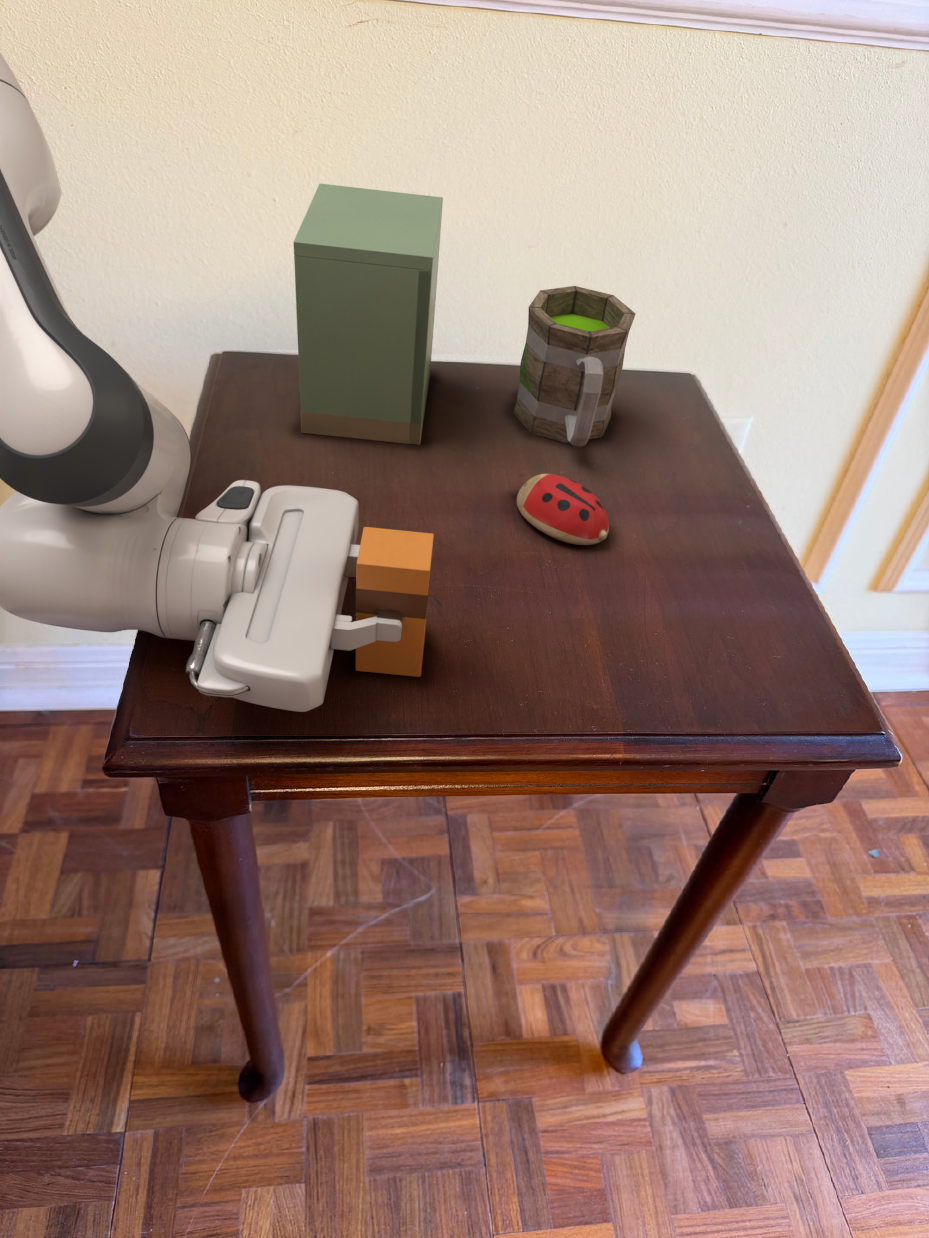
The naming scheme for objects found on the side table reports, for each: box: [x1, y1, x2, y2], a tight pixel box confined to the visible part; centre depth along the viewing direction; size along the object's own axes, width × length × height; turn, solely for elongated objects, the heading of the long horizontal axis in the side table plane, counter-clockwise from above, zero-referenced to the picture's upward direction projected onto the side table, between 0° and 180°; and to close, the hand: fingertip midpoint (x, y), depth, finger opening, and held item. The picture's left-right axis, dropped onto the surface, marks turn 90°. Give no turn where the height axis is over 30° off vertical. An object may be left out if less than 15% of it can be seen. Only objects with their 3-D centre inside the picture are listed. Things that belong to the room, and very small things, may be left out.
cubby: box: [293, 183, 444, 446], centre depth 88 cm, size 12×14×19 cm
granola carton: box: [354, 526, 435, 678], centre depth 66 cm, size 5×4×11 cm
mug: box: [512, 285, 636, 447], centre depth 91 cm, size 16×11×12 cm
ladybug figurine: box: [516, 473, 610, 546], centre depth 82 cm, size 7×10×4 cm
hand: (405, 600), depth 66 cm, fingers closed on granola carton, 4 cm apart
